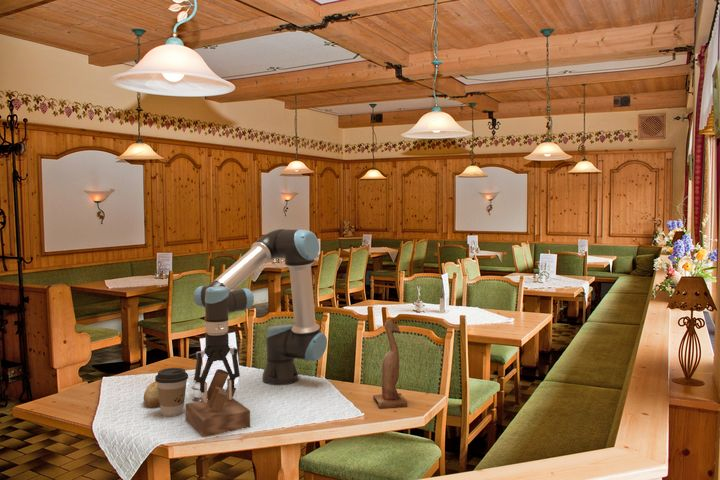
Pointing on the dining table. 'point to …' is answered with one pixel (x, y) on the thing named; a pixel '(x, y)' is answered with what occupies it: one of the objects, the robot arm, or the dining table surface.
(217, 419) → the walnut base block
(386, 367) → the bird sculpture
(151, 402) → the bread roll
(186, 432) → the dining table surface
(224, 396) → the wooden block set
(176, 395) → the coffee cup
